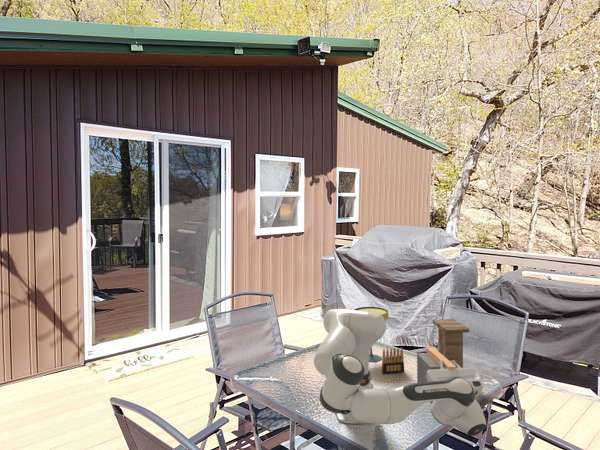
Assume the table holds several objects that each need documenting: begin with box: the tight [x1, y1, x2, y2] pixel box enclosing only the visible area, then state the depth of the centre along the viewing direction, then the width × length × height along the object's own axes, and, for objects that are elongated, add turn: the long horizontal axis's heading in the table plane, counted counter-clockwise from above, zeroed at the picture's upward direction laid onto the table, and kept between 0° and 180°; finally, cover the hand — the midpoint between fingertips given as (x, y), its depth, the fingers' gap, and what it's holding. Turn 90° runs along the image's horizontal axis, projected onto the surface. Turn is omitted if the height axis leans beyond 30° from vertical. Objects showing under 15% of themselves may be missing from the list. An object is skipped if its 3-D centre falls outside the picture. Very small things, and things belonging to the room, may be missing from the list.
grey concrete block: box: [416, 352, 440, 404], centre depth 193 cm, size 16×10×15 cm, turn 5°
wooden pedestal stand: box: [432, 318, 470, 368], centre depth 206 cm, size 16×12×26 cm
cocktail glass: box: [354, 306, 389, 363], centre depth 237 cm, size 18×18×25 cm
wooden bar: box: [426, 346, 456, 370], centre depth 187 cm, size 24×3×3 cm, turn 4°
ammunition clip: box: [381, 347, 405, 375], centre depth 217 cm, size 11×2×12 cm, turn 99°
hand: (446, 361), depth 180 cm, fingers closed on wooden bar, 3 cm apart
